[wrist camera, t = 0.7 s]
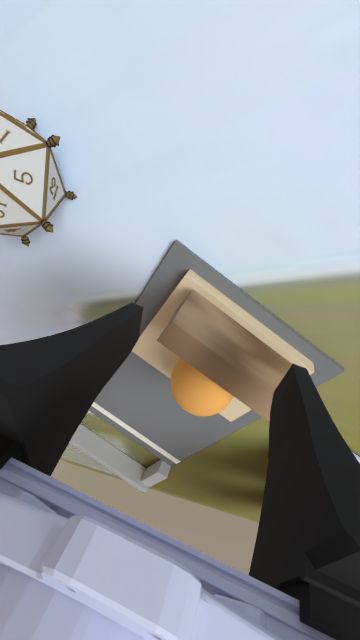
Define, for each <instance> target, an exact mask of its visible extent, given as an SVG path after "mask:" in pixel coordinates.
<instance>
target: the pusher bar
mask: <svg viewBox="0 0 360 640" xmlns="http://www.w3.org/2000/svg"><path fill="white" fill-rule="evenodd" d="M157 341H158V342H159V343H161V344H162V345H164V346H165V347H166V348H168V349H169V350H170V351H172V352H173V353H175V354H176V355H177V356H179V357H180V358H182V359H183V360H184V361H186V362H187V363H188V364H190V365H191V366H193V367H194V368H195V369H197V370H198V371H199V372H201V373H202V374H204V375H205V376H206V377H208V378H209V379H210V380H212V381H213V382H215V383H216V384H217V385H219V386H220V387H221V388H223V389H224V390H226V391H227V392H228V393H230V394H231V395H233V396H234V397H235V398H237V399H238V400H239V401H241V402H242V403H244V404H245V405H246V406H248V407H249V408H250V409H252V410H253V411H255V412H256V413H257V414H259V415H260V416H261V417H263V418H264V419H266V420H267V421H268V422H270V410H271V404H272V398H273V393H274V391H275V389H276V388H277V386H278V385H279V383H280V382H281V380H282V379H283V377H284V376H285V374H286V373H287V371H288V370H289V368H290V367H291V365H292V363H290V362H289V361H288V360H286V359H285V358H284V357H282V356H281V355H280V354H278V353H277V352H276V351H274V350H273V349H272V348H270V347H269V346H268V345H266V344H265V343H264V342H262V341H261V340H260V339H258V338H257V337H256V336H255V335H253V334H252V333H251V332H249V331H248V330H247V329H245V328H244V327H243V326H241V325H240V324H239V323H237V322H236V321H235V320H233V319H232V318H231V317H229V316H228V315H227V314H225V313H224V312H223V311H221V310H220V309H219V308H217V307H216V306H215V305H213V304H212V303H211V302H209V301H208V300H207V299H205V298H204V297H203V296H201V295H200V294H199V293H198V292H196V291H195V290H194V289H192V291H191V292H190V293H189V294H188V296H187V297H186V298H185V299H184V301H183V302H182V303H181V304H180V306H179V307H178V309H177V310H176V312H175V313H174V315H173V316H172V318H171V319H170V321H169V322H168V324H167V326H166V327H165V329H164V330H163V332H162V333H161V335H160V336H159V338H158V339H157Z"/></svg>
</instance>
